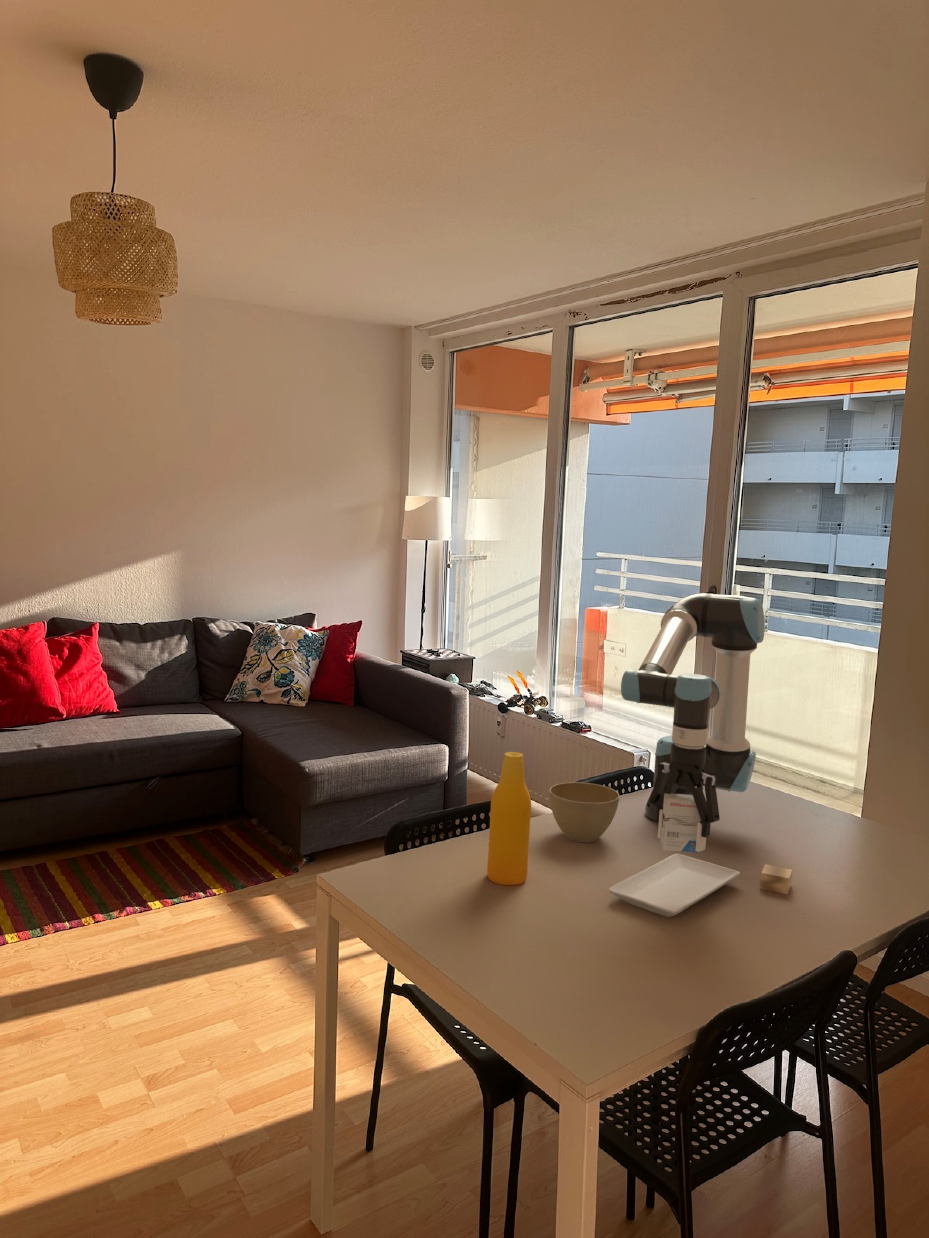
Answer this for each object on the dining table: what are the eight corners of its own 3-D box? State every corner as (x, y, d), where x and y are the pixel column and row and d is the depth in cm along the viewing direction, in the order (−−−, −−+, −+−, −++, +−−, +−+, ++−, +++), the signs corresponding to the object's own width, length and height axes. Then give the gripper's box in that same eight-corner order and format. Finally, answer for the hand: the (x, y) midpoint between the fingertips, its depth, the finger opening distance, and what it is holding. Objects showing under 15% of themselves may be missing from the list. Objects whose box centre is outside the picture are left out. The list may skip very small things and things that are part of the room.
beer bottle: (535, 878, 204) (542, 755, 200) (509, 889, 197) (516, 762, 194) (504, 866, 210) (511, 746, 207) (478, 876, 203) (484, 753, 200)
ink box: (698, 845, 200) (702, 794, 199) (701, 853, 195) (706, 801, 194) (659, 842, 201) (663, 791, 200) (662, 850, 196) (666, 798, 195)
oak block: (759, 889, 204) (761, 872, 204) (763, 880, 210) (765, 864, 209) (787, 895, 202) (789, 878, 201) (790, 886, 207) (792, 869, 207)
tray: (605, 902, 194) (606, 887, 193) (675, 864, 217) (676, 851, 217) (675, 928, 182) (676, 912, 182) (740, 886, 206) (742, 871, 206)
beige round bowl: (626, 835, 235) (630, 790, 234) (599, 855, 220) (602, 807, 219) (565, 820, 245) (568, 777, 243) (534, 838, 229) (537, 792, 228)
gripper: (637, 736, 201) (630, 832, 203) (724, 758, 185) (715, 862, 188) (657, 732, 206) (650, 826, 208) (742, 753, 190) (734, 854, 193)
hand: (681, 843), depth 198 cm, fingers closed on ink box, 9 cm apart
